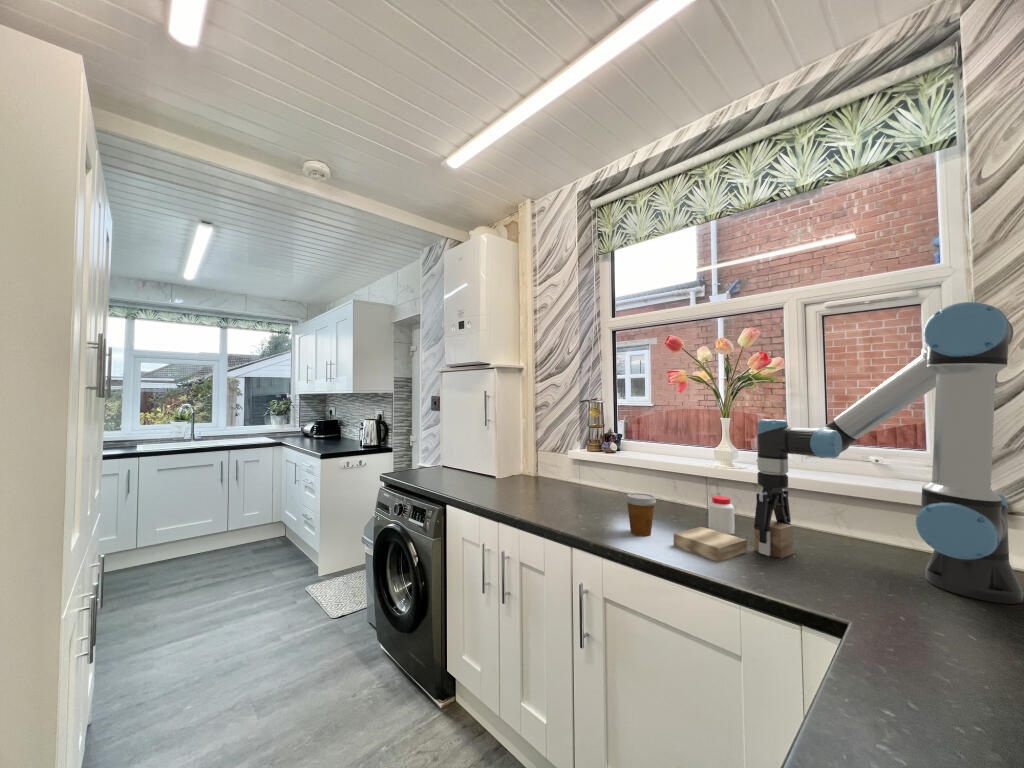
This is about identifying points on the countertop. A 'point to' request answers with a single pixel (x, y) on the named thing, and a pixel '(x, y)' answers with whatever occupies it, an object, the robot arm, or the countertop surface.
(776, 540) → the walnut block
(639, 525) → the disposable coffee cup
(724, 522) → the pill bottle
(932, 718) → the countertop surface
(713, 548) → the oak block
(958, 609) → the countertop surface
